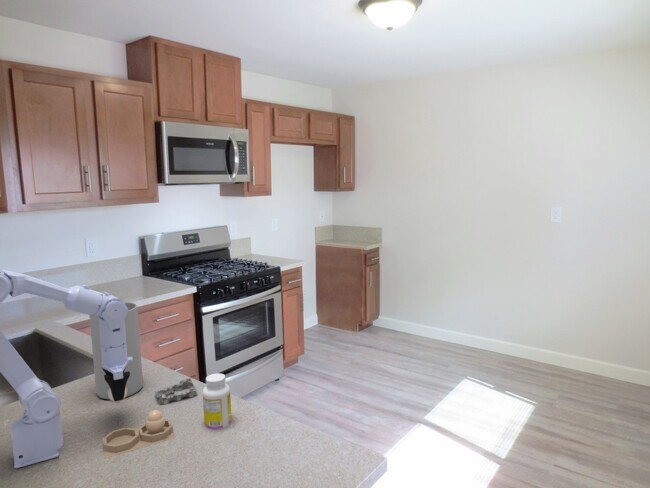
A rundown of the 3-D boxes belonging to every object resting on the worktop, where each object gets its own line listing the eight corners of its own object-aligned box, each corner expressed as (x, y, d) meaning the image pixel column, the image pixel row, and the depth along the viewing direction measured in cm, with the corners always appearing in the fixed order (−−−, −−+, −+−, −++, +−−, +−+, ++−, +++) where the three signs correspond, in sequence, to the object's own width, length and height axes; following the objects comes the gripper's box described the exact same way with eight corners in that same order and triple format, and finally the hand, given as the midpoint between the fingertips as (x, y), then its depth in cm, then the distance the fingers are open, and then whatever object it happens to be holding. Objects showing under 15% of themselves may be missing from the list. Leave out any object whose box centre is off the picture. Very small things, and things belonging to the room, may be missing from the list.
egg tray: (105, 462, 96) (104, 451, 96) (102, 441, 104) (101, 432, 103) (176, 441, 104) (175, 431, 103) (168, 423, 111) (167, 414, 111)
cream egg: (109, 408, 108) (107, 386, 107) (107, 400, 112) (106, 379, 111) (128, 403, 110) (127, 381, 109) (126, 396, 114) (125, 375, 113)
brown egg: (147, 440, 102) (146, 417, 102) (144, 431, 106) (143, 409, 105) (167, 434, 105) (165, 412, 104) (163, 425, 108) (162, 404, 108)
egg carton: (192, 390, 130) (192, 377, 129) (198, 401, 123) (197, 387, 123) (154, 398, 125) (153, 385, 124) (158, 410, 118) (157, 396, 118)
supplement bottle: (222, 415, 115) (220, 369, 113) (237, 425, 110) (234, 376, 108) (199, 425, 110) (196, 377, 108) (213, 436, 105) (210, 385, 104)
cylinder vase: (148, 391, 128) (142, 309, 125) (101, 405, 121) (93, 317, 117) (137, 377, 138) (131, 299, 135) (92, 388, 131) (85, 307, 127)
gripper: (135, 350, 104) (139, 403, 106) (127, 332, 117) (131, 381, 119) (102, 356, 101) (106, 411, 103) (97, 337, 113) (102, 387, 115)
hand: (117, 395), depth 111 cm, fingers closed on cream egg, 4 cm apart
